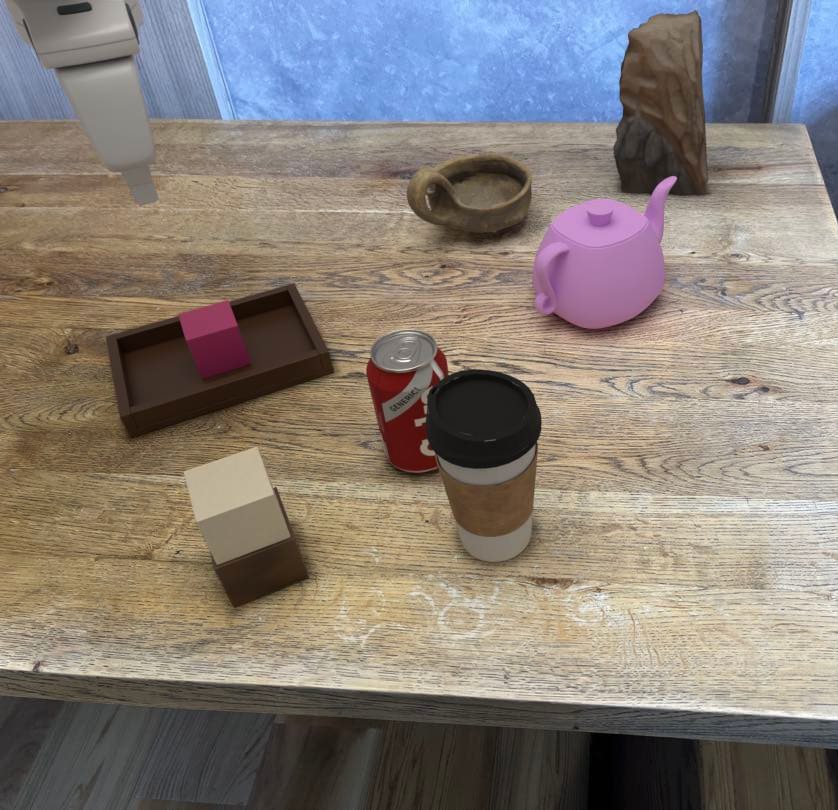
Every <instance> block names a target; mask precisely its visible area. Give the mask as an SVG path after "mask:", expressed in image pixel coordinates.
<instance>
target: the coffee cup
mask: <svg viewBox="0 0 838 810" xmlns="http://www.w3.org/2000/svg"><path fill="white" fill-rule="evenodd" d="M542 425H543V424H542V412H541V410H540V407H539V405H538V404H537V400H536V396H535V394H534V393H533V391H532V390H531V388H530V387H529V386H528V385H527V384H526V383H525V382H523V381H522V380H521V379H519V378H516V377H515V376H513V375H510V374H508V373H504V372H500V371H497V370H491V369H483V368H481V369H480V368H477V369H476V368H473V369H463V370H458V371H456V372H452V373H449V376H447V377H445V378H443V379H442V380H440V381H439V382H438V383H437V384H436V385H434V386H433V387H432V388H431V389H430V391H429V394H428V399H427V416H426V423H425V427H426V433H427V440H428V442H429V445H430V447H431V448H432V449H433V451H434V452H435V457H436V462H437V465H438V468H437V469H438V471H439V475H440V477H441V480H442V484H443V487H444V491H445V493H446V497H447V500H448V503H449V506H450V509H451V512H452V516H453V518H454V520H455V525H456V528H457V532H458V535H459V536H458V537H459V540H460V542H461V544H462V547H463V549H464V550H465V551H466V552H467V553H468V554H469V555H470V556H472V557H473V558H474V559H475V558H476V559H477V560H480V561H483V562H487V563H501V562H505V561H508V560H511V559H514V558H515V557H517V556H518V555H519V554H521V553H523V552H524V550H525V549H526V548H527V546H528V545H529V543H530V541H531V537H532V533H533V532H532V531H533V528H532V527H533V510H534V504H535V491H536V481H537V480H536V479H537V467H538V455H539V454H538V453H539V443H538V441H539V439H540V436H541V433H542V428H543V427H542Z"/></svg>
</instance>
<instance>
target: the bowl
mask: <svg viewBox="0 0 838 810" xmlns="http://www.w3.org/2000/svg"><path fill="white" fill-rule="evenodd" d="M532 182H533V175H532V173H531V170H530V169H529V168H528V167H527V166H526V165H525V164H523V163H522V162H521V161H519V160H517V159H515V158H514V157H512V156H509V155H506V154H503V153H496V152H495V153H494V152H485V153H484V152H483V153H478V154H467V155H457V156H455V157H452V158H449V159H447V160H445V161H442V162H441V163H438V165H436V166H435V167H434V168H432V169H431V168H428V167H426V168H422V169H419V170H418V171H416V172H415V173H414V174H413V175H412V177H411V178H410V180H409V181H408V185H407V188H406V200H407V203H408V205H409V207H410V209H411V211H412V213H414V214H415V215H416V216H417V217H418V218H420V219H421V220H422V221H424V222H427V223H429V224H431V225H432V224H433V225H435V226H440V227H445V228H447V229H453V230H458V231H463V232H468V233H477V234H479V233H482V234H483V233H491V232H492V233H496V232H497V231H499V230H502V229H506V228H509V227H511V226H513V225H514V226H515V225H516V224H519V223H520V222H522V221H523V220H524V218H525V217H526V215H527V213H528V212H529V209H530V206H531V202H532V197H533V192H532V191H533V190H532ZM426 197H427V199H428V204H429V206H428V204H427V199H426Z"/></svg>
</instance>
